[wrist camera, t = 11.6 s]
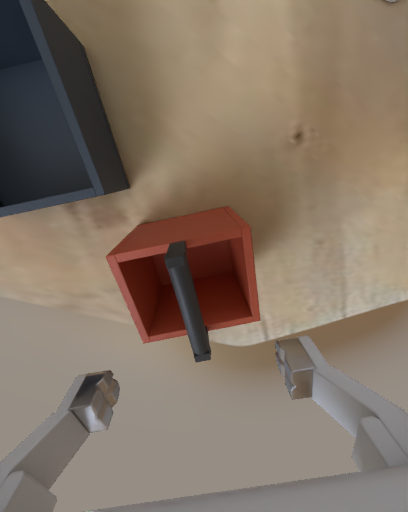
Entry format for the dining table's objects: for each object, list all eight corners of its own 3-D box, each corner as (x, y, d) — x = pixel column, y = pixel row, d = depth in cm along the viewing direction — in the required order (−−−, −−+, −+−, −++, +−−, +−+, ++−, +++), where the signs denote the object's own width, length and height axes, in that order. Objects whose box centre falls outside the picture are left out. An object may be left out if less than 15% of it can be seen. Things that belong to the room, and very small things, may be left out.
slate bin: (83, 45, 17) (19, -29, 11) (130, 188, 22) (105, 194, 16) (-70, 81, 17) (-216, 29, 11) (9, 214, 22) (-63, 230, 16)
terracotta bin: (228, 205, 23) (264, 238, 12) (238, 272, 27) (273, 347, 15) (137, 225, 23) (85, 275, 12) (159, 288, 27) (134, 374, 15)
